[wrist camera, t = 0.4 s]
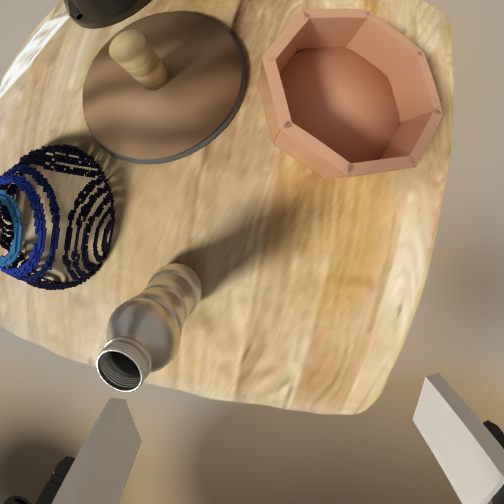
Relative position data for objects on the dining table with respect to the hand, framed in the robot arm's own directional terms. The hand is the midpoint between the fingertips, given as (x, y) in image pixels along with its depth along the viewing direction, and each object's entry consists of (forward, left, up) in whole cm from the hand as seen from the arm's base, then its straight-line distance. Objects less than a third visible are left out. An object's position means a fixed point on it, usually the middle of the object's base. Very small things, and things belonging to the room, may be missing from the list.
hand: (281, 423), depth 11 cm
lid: (-26, -8, -26) cm, 37 cm away
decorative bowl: (-13, -27, -27) cm, 40 cm away
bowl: (-18, +13, -27) cm, 35 cm away
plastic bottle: (0, -11, -27) cm, 29 cm away
